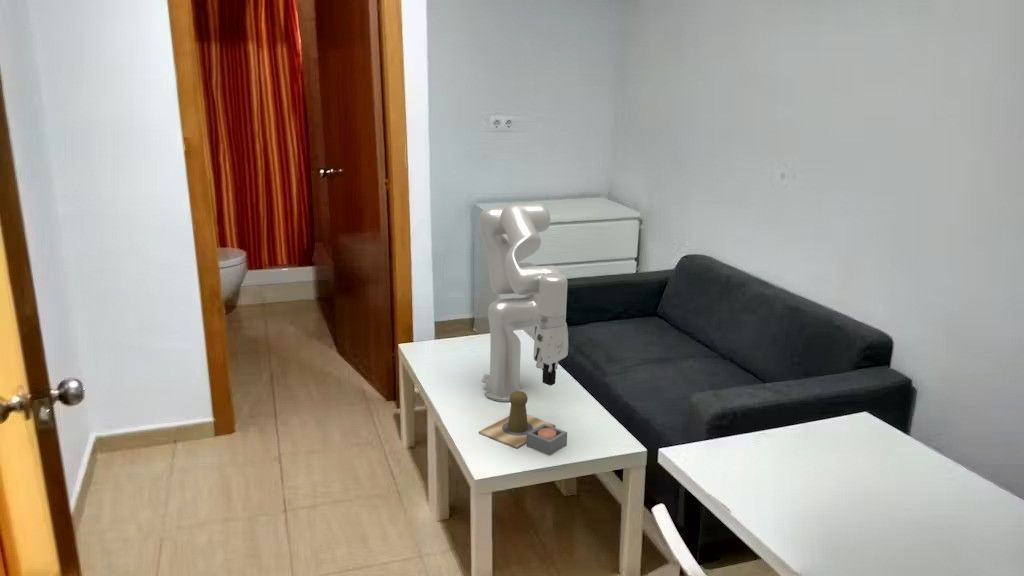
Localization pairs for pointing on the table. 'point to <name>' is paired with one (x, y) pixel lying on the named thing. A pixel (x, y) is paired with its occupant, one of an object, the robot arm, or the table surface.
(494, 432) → the wooden board
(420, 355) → the table surface
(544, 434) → the button
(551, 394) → the table surface
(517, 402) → the pepper shaker
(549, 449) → the button housing
